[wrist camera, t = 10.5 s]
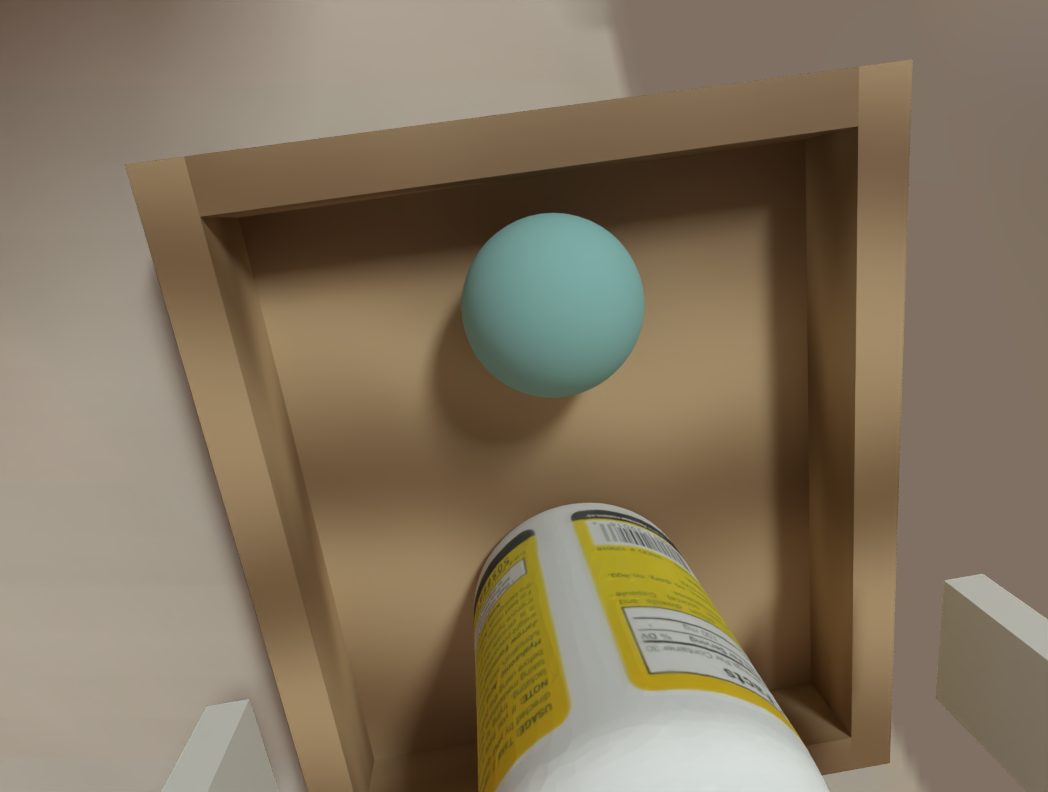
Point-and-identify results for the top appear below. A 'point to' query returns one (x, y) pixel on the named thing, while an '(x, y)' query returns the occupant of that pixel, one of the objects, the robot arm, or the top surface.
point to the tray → (552, 423)
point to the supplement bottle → (617, 669)
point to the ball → (552, 305)
